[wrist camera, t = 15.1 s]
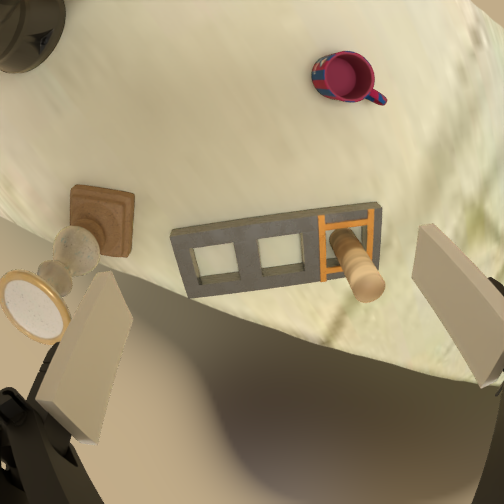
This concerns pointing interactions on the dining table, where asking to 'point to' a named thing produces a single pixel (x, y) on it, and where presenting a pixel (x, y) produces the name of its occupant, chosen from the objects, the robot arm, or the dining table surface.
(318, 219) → the grey peg board
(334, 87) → the mug
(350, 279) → the peg
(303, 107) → the dining table surface
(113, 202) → the candle holder
